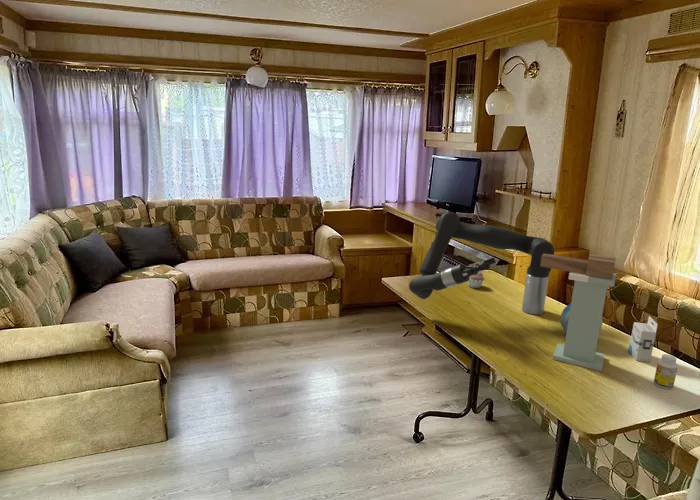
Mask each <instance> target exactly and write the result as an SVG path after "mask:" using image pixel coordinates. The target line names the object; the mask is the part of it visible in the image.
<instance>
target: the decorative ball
mask: <svg viewBox="0 0 700 500" xmlns="http://www.w3.org/2000/svg"><path fill="white" fill-rule="evenodd" d="M570 308H571V303H569V304H567V305H566V306H565V307H564V308H563V310H562V312H561V315H560V325H561V327H562V329H563V331H564V332H565V333H566V332H567V326H568V320H569V314H570ZM602 327H603V319H602V320H601V325H600V331H601V330H602Z"/></svg>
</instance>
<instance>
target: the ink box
mask: <svg viewBox="0 0 700 500" xmlns="http://www.w3.org/2000/svg"><path fill="white" fill-rule="evenodd" d="M657 330H658V322H656V321H655V320H654V319H653V318H652V317H651V316H648V317H647V323H643V322H637V321H635V322H634V321H633V324H632V331H631V335H630V341H629V345H628V352H629V353H630V355H631V356H632V357H633V359H634V360H635V361H637V362H647V363H650V362H651V358H652V354H653V350H654V344H655V340H656V336H657Z"/></svg>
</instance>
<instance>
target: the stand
mask: <svg viewBox="0 0 700 500" xmlns="http://www.w3.org/2000/svg"><path fill="white" fill-rule="evenodd" d="M616 278H617V273H613V277H612V280H609V279H603V278H597V277H591V276H586V274H582V273H576V272H570V271H569V273H568V280H571V281H574V285H573V289H572V296H571V303H570V304H571V308H570V314H569V320H568V326H567V332H565V334H566V335H565V339H564V343H560V342H559V343H557V345H556V347H555V350H554V351H553V354H552V360H555V361H558V362H562V363H563V362H564V363H567V364H571V365H573V366H574V365H575V366H579V367H583V368H587V369H590V370H594V371H595V370H596V371H598V372H603V368H604V361H605V353H601V352H597V346H598V342H599V341H598V340H599V335H600V332H601V330H600V325H601V320H602V321H603V313H604V307H605V302H606V296H607V290H608V287H611V288H615V284H616V283H615V282H616Z"/></svg>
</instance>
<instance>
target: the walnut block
mask: <svg viewBox="0 0 700 500" xmlns="http://www.w3.org/2000/svg"><path fill="white" fill-rule="evenodd" d="M616 260H617V257H614V256H608V255H601V254H594V253H589V256H588V258H587V259H581V258H575V257H569V256H561V255H555V254H554V255H550V254H543V255H542V257H541V264H540V267H545V268H551V270H558V271H564V272H569V273H570V272H576V273H582V274H586V276H591V277H597V278H603V279H609V280H612V277H613V274H614V270H615V264H616Z"/></svg>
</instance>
